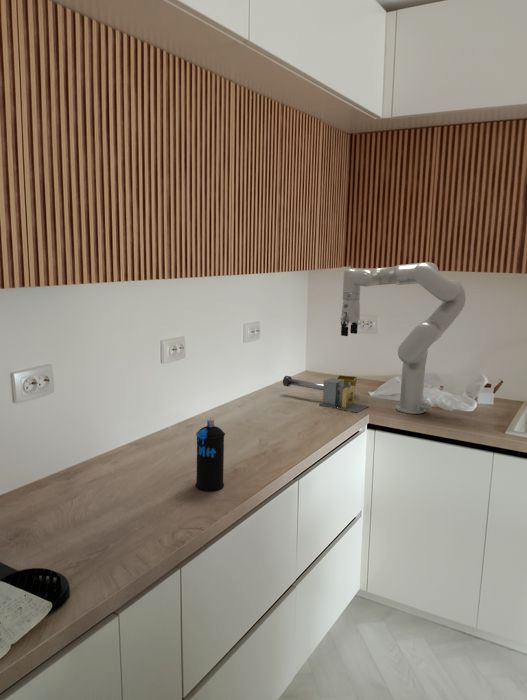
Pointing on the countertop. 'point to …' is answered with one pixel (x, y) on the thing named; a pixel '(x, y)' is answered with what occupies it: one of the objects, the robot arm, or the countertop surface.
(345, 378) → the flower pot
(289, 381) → the shaft
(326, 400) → the block
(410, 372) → the robot arm
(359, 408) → the mat
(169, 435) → the countertop surface
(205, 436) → the aerosol can
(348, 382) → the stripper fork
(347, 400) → the gold bearing plate
